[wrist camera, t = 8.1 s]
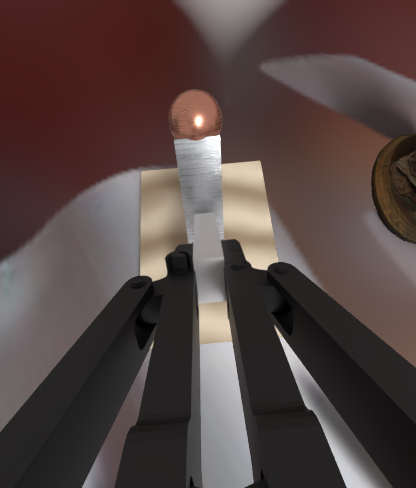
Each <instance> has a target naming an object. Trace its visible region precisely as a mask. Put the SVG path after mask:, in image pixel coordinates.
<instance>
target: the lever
mask: <svg viewBox="0 0 416 488" xmlns="http://www.w3.org/2000/svg"><path fill="white" fill-rule="evenodd" d="M169 125H170V129H171V132H172V134H173V136H174V137H175V138H174V144H175V152H176V158H177V166H178V173H179V180H180V187H181V194H182V201H183V208H184V215H185V222H186V229H187V236H188V243H189V244H192V243H193V240H194V214H203V213H214V212H215V215H216V220H217V225H218V230H219V235H220V240H224V220H223V196H222V171H221V147H220V135H219V133H220V130H221V126H222V115H221V110H220V107H219V105H218V103H217V102H216V100H215V99H214V98H213V97H212V96H211V95H210V94H208V93H206V92H204V91H201V90H188V91H186V92H183V93H182V94H180V95H179V96H178V97H177V98H176V99H175V101H174V102H173V104H172V106H171V108H170V112H169Z"/></svg>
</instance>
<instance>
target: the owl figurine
mask: <svg viewBox="0 0 416 488" xmlns="http://www.w3.org/2000/svg"><path fill="white" fill-rule="evenodd" d="M371 185H372V197H373V201H374V204H375V207H376V209H377V212H378V214H379V216H380V217H381V219H382V221H383V222H384V223H385V225H386V226H387V227H388V229H389V230H390V231H391V232H393V233H394V234H396V235H398V236H399V237H400V238H401V239H403V241H408V242H411V243H414V244H416V134H408V135H402V136H400V137H397V138H395V139H393V140H392V141H391V142H389V143H388V144H387V145H386V146H385V147H384V148H383V149H382V150H381V152H380V153H379V155H378V156H377V159H376V161H375V164H374V166H373V170H372V180H371Z"/></svg>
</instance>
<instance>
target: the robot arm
mask: <svg viewBox="0 0 416 488" xmlns="http://www.w3.org/2000/svg"><path fill="white" fill-rule="evenodd" d="M165 262H166V267H167V276H166V277H164V278H162V279H159V280H156V281H153V282H152V279H151V278H150V277H149V276H137V277H133V278H131V279H129V280H128V281H127V282H126V283H125V284H124V285H123V286H122V288H121V289H120V290H119V291H118V292H117V294H116V295H115V296H114V297H113V298H112V299H111V301H110V302H109V303H108V304H107V305H106V307H105V308H104V309H103V310H102V311H101V313H100V314H99V315H98V316H97V317H96V319H95V320H94V321H93V322H92V323H91V325H90V326H89V327H88V328H87V329H86V331H85V332H84V333H83V334H82V335H81V337H80V338H79V339H78V340H77V341H76V342H75V344H74V345H73V346H72V347H71V348H70V350H69V351H68V352H67V353H66V354H65V356H64V357H63V358H62V359H61V360H60V362H59V363H58V364H57V365H56V366H55V368H54V369H53V370H52V371H51V372H50V374H49V375H48V376H47V377H46V378H45V380H44V381H43V382H42V383H41V384H40V385H39V387H38V388H37V389H36V390H35V391H34V393H33V394H32V395H31V396H30V397H29V399H28V400H27V401H26V402H25V403H24V405H23V406H22V407H21V408H20V409H19V411H18V412H17V413H16V414H15V415H14V417H13V418H12V419H11V420H10V421H9V423H8V424H7V425H6V426H5V427H4V428H3V430H2V431H1V432H0V488H82V486H83V484H84V482H85V480H86V478H87V476H88V474H89V472H90V470H91V468H92V466H93V464H94V462H95V459H96V457H97V455H98V453H99V451H100V449H101V447H102V445H103V443H104V441H105V439H106V437H107V435H108V433H109V431H110V429H111V427H112V425H113V423H114V421H115V419H116V417H117V415H118V412H119V410H120V408H121V406H122V404H123V402H124V400H125V398H126V396H127V394H128V392H129V390H130V388H131V386H132V384H133V382H134V380H135V378H136V376H137V374H138V372H139V370H140V368H141V366H142V363H143V361H144V359H145V357H146V355H147V353H148V351H149V349H150V347H151V345H152V343H153V347H152V352H151V357H150V362H149V367H148V372H147V377H146V382H145V387H144V392H143V397H142V402H141V407H140V412H139V417H138V420H137V423H136V425H134V426H132V427H131V428H130V430H129V432H128V434H127V437H126V441H125V444H124V448H123V453H122V457H121V462H120V466H119V470H118V475H117V479H116V484H115V488H203V486H202V473H201V415H200V339H199V306H198V304H202V303H213V302H224V301H227V315H228V319H229V323H230V329H231V336H232V342H233V348H234V355H235V361H236V367H237V373H238V380H239V386H240V392H241V399H242V405H243V411H244V417H245V424H246V430H247V436H248V443H249V449H250V455H251V462H252V469H253V479H254V483H253V484H251V485H249V486H247V487H245V488H346V485H345V483H344V480H343V478H342V475H341V473H340V471H339V468H338V466H337V463H336V461H335V458H334V456H333V453H332V451H331V449H330V446H329V444H328V441H327V439H326V436H325V434H324V432H323V429H322V427H321V424H320V422H319V420H318V418H317V416H316V415H315V413H314V412H313V411H312V410H309V409H307V407H306V406H305V404H304V402H303V399H302V397H301V394H300V391H299V389H298V386H297V384H296V381H295V378H294V376H293V373H292V370H291V368H290V365H289V363H288V360H287V357H286V355H285V352H284V350H283V347H282V344H281V342H280V339H279V336H278V334H277V331H276V329H275V327H276V328H277V329H278V331H279V332H280V333H281V335H282V336H283V338H284V339H285V340H286V342H287V343H288V344H289V346H290V347H291V348H292V350H293V351H294V353H295V354H296V355H297V357H298V358H299V359H300V361H301V362H302V364H303V365H304V366H305V368H306V369H307V370H308V372H309V373H310V374H311V376H312V377H313V379H314V380H315V381H316V383H317V384H318V385H319V387H320V388H321V390H322V391H323V392H324V394H325V395H326V396H327V398H328V399H329V400H330V402H331V403H332V405H333V406H334V407H335V409H336V410H337V411H338V413H339V414H340V416H341V417H342V418H343V420H344V421H345V422H346V424H347V425H348V426H349V428H350V429H351V431H352V432H353V433H354V435H355V436H356V437H357V439H358V440H359V442H360V443H361V444H362V446H363V447H364V448H365V450H366V451H367V452H368V454H369V455H370V457H371V458H372V459H373V461H374V462H375V463H376V465H377V466H378V468H379V469H380V470H381V472H382V473H383V474H384V476H385V477H386V478H387V480H388V481H389V483H390V484H391V485H392V487H393V488H416V368H415V367H414V366H413V365H411V364H410V363H409V362H408V361H407V360H406V359H404V358H403V357H402V356H401V355H400V354H398V353H397V352H396V351H395V350H394V349H392V348H391V347H390V346H389V345H387V344H386V343H385V342H384V341H383V340H382V339H380V338H379V337H378V336H377V335H376V334H374V333H373V332H372V331H371V330H370V329H368V328H367V327H366V326H365V325H363V324H362V323H361V322H360V321H359V320H358V319H356V318H355V317H354V316H353V315H352V314H350V313H349V312H348V311H347V310H346V309H344V308H343V307H342V306H341V305H340V304H338V303H337V302H336V301H335V300H334V299H333V298H331V297H330V296H329V295H328V294H327V293H325V292H324V291H323V290H322V289H321V288H319V287H318V286H317V285H316V284H315V283H313V282H312V281H311V280H310V279H309V278H307V277H306V276H305V275H304V274H303V273H301V272H300V271H299V270H298V269H297V268H295V267H294V266H293V265H291V264H288V263H285V262H276V263H272V264H270V265H269V266H268V269H267V270H260V269H256V268H253V267H252V266H251V264H250V263H249V262H248V261H246V258H245V255H244V253H243V250H242V247H241V245H240V242H239V241H237V240H236V239H228V240H220V235H219V230H218V225H217V220H216V215H215V212H214V213H203V214H194V240H193V243H192V244H181V245H178V246H177V247H176V248H175V251H173V252H171V253H169V254H168V255H166V257H165ZM226 299H227V300H226ZM274 325H275V326H274ZM153 341H154V342H153Z"/></svg>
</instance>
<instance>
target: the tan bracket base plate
mask: <svg viewBox="0 0 416 488" xmlns="http://www.w3.org/2000/svg"><path fill="white" fill-rule="evenodd" d="M221 171H222V196H223V220H224V240H228V239H236V240H237V241H239V242H240V245H241V247H242V250H243V253H244V255H245V258H246V261H248V262H249V263H250V264H251V266H252V267H253V268H256V269H260V270H267V269H268V266H269V265H270V264H272V263H276V262H278V257H277V251H276V246H275V240H274V235H273V229H272V224H271V218H270V213H269V207H268V202H267V196H266V190H265V185H264V180H263V174H262V168H261V163H260V161H252V162H240V163H229V164H221ZM181 244H189V243H188V236H187V229H186V222H185V215H184V208H183V201H182V194H181V187H180V180H179V173H178V168H171V169H160V170H148V171H141V230H140V276H149V277H150V278H151V279H152V282H153V281H156V280H159V279H162V278H164V277H166V276H167V267H166V262H165V257H166V255H168V254H169V253H171V252H173V251H175V248H176V247H177V246H178V245H181ZM226 300H227V299H226ZM198 306H199V339H200V344H208V343H220V342H232V336H231V329H230V323H229V319H228V315H227V301H224V302H213V303H202V304H198ZM274 326H275V325H274ZM275 329H276V331H277V334H278V336H279V337H283V336H282V335H281V333H280V332H279V331H278V329H277V328H276V327H275ZM153 342H154V341H153ZM152 347H153V343H152V345H151V347H150V348H152Z"/></svg>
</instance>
